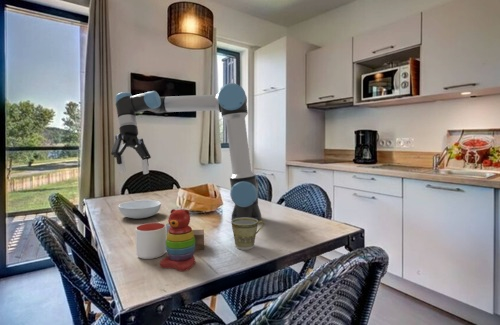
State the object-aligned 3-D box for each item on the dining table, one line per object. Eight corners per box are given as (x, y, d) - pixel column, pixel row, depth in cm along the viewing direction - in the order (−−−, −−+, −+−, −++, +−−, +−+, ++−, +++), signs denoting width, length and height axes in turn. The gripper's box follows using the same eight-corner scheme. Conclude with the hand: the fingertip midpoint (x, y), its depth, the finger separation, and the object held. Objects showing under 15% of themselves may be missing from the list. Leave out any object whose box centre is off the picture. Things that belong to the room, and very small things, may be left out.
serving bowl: (133, 224, 139) (133, 210, 139) (111, 217, 152) (110, 204, 152) (169, 215, 156) (169, 202, 155) (146, 210, 169) (146, 198, 168)
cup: (149, 262, 96) (148, 233, 95) (130, 256, 101) (129, 228, 101) (172, 252, 105) (171, 225, 104) (153, 247, 110) (152, 221, 109)
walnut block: (204, 244, 113) (203, 229, 112) (204, 250, 107) (204, 234, 107) (188, 245, 112) (187, 230, 111) (187, 251, 106) (187, 235, 106)
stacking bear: (156, 267, 93) (155, 211, 92) (175, 255, 102) (174, 205, 101) (185, 272, 89) (184, 215, 88) (202, 259, 99) (201, 207, 97)
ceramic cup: (237, 253, 104) (237, 226, 103) (227, 244, 113) (227, 218, 112) (269, 248, 109) (269, 221, 108) (258, 239, 118) (258, 215, 117)
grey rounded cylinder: (184, 239, 119) (184, 222, 118) (178, 244, 113) (177, 226, 112) (170, 238, 120) (170, 221, 119) (163, 243, 114) (163, 225, 114)
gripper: (142, 134, 144) (148, 176, 140) (97, 123, 121) (104, 173, 117) (154, 129, 141) (161, 172, 137) (111, 117, 118) (117, 168, 114)
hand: (134, 172), depth 127 cm, fingers open, 13 cm apart
